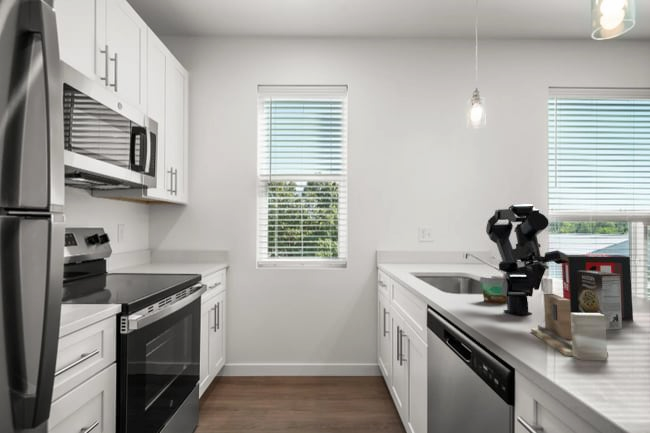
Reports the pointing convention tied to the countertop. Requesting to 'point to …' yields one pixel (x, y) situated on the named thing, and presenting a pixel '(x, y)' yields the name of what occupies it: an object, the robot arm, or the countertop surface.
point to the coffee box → (600, 296)
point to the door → (558, 315)
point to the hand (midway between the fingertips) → (536, 289)
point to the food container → (493, 290)
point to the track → (580, 337)
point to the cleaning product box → (603, 264)
